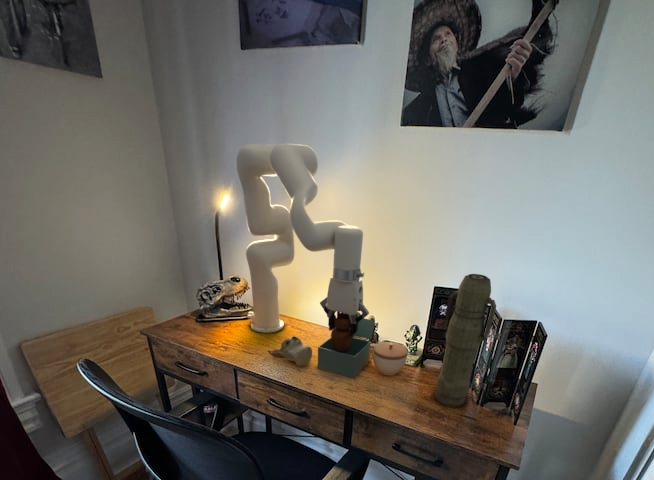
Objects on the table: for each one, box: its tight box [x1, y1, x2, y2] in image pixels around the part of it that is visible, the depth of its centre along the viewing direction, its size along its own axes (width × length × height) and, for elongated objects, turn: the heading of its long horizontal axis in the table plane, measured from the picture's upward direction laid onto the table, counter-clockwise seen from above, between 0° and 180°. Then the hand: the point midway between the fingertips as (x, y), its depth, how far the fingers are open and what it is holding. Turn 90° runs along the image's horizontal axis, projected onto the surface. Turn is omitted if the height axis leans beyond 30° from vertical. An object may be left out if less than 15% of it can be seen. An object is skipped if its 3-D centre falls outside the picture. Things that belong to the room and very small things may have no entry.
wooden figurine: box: [330, 311, 354, 353], centre depth 116 cm, size 7×6×15 cm
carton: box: [317, 336, 372, 379], centre depth 121 cm, size 13×13×7 cm
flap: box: [340, 312, 376, 341], centre depth 123 cm, size 12×6×1 cm
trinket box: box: [372, 341, 409, 376], centre depth 119 cm, size 11×11×9 cm
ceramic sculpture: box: [267, 335, 313, 367], centre depth 122 cm, size 11×9×15 cm
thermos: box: [434, 273, 497, 407], centre depth 100 cm, size 9×12×35 cm
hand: (342, 331), depth 116 cm, fingers closed on wooden figurine, 6 cm apart
